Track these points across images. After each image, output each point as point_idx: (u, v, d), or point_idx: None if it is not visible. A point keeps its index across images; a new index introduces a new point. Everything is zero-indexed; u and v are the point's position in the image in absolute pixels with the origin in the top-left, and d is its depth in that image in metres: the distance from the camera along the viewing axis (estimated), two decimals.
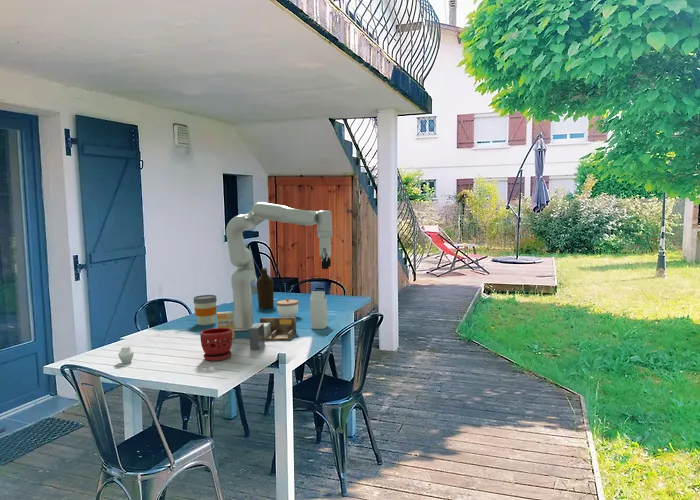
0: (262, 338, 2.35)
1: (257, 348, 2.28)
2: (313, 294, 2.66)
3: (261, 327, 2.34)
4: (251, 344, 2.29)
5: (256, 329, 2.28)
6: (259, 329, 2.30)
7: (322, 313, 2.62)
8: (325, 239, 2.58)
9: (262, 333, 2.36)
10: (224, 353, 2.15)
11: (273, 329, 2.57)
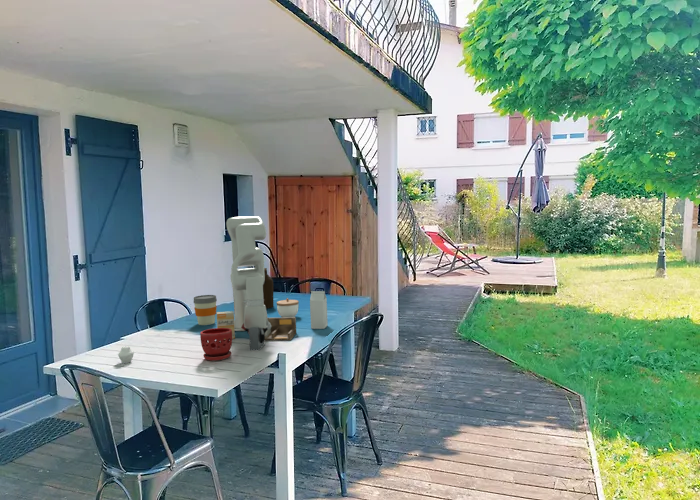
0: None
1: (257, 348, 2.28)
2: (313, 294, 2.66)
3: None
4: (251, 344, 2.28)
5: (256, 329, 2.28)
6: (259, 329, 2.30)
7: (322, 313, 2.62)
8: (265, 307, 2.32)
9: None
10: (224, 353, 2.15)
11: (273, 329, 2.57)
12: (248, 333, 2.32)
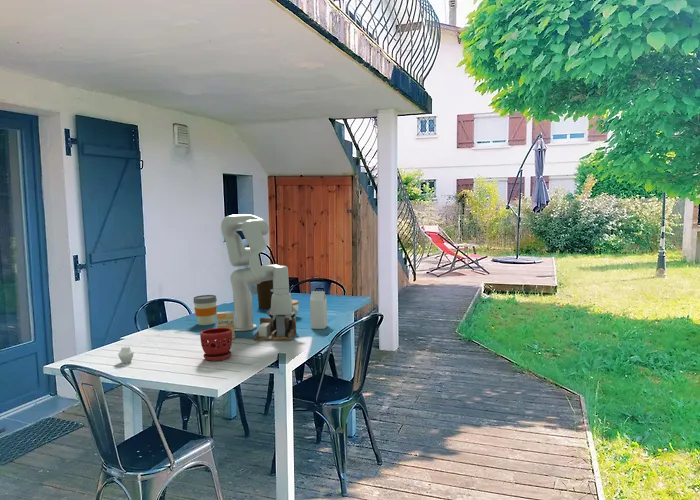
0: (287, 326, 2.52)
1: (283, 335, 2.46)
2: (313, 294, 2.66)
3: (286, 316, 2.51)
4: (278, 331, 2.46)
5: (282, 317, 2.45)
6: (285, 318, 2.47)
7: (322, 313, 2.62)
8: (290, 295, 2.49)
9: (287, 322, 2.53)
10: (224, 353, 2.15)
11: (273, 329, 2.57)
12: (272, 319, 2.49)
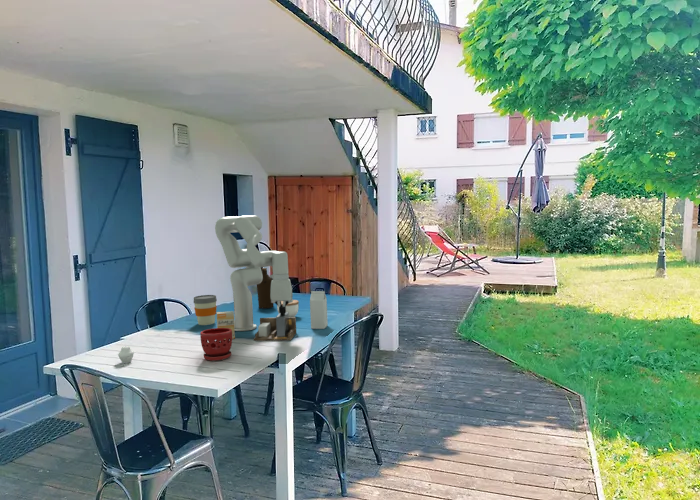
0: (287, 326, 2.52)
1: (283, 335, 2.46)
2: (313, 294, 2.66)
3: (287, 316, 2.51)
4: (278, 331, 2.46)
5: (283, 317, 2.45)
6: (285, 318, 2.47)
7: (322, 313, 2.62)
8: (290, 281, 2.49)
9: (287, 322, 2.53)
10: (224, 353, 2.15)
11: (273, 329, 2.57)
12: (278, 306, 2.48)
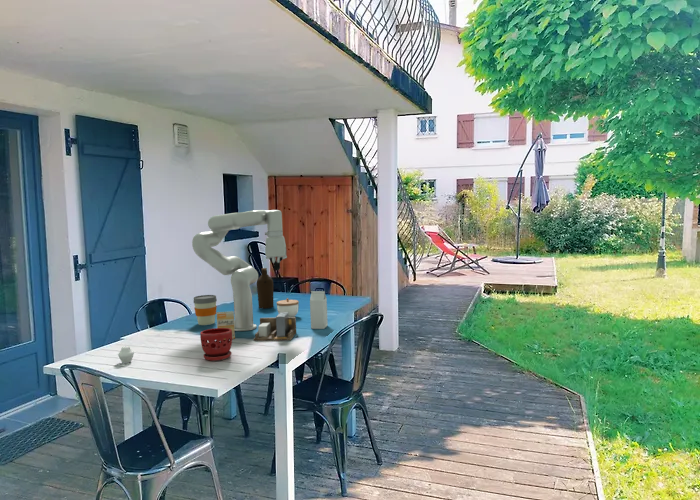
0: (287, 326, 2.52)
1: (283, 335, 2.46)
2: (313, 294, 2.66)
3: (286, 316, 2.51)
4: (278, 331, 2.46)
5: (282, 317, 2.45)
6: (285, 318, 2.47)
7: (322, 313, 2.62)
8: None
9: (287, 322, 2.53)
10: (224, 353, 2.15)
11: (273, 329, 2.57)
12: None
